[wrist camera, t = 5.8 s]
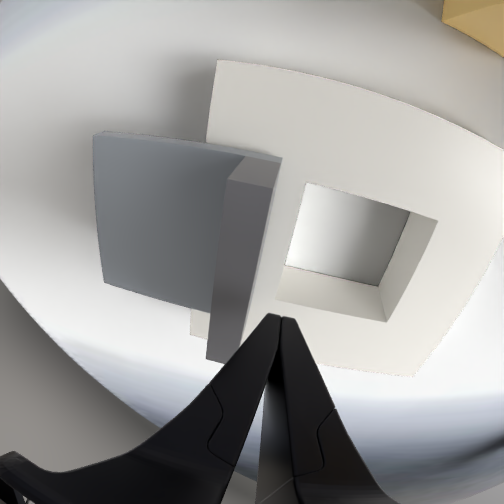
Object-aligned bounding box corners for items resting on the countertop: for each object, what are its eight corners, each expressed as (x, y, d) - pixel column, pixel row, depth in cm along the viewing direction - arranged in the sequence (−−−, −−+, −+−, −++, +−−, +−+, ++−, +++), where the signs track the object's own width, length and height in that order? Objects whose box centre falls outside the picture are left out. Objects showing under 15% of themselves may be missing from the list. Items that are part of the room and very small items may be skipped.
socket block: (499, 149, 11) (531, 167, 9) (404, 342, 18) (412, 377, 16) (235, 64, 12) (217, 59, 9) (204, 301, 19) (189, 334, 17)
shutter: (282, 157, 11) (273, 188, 8) (249, 310, 15) (234, 366, 12) (104, 131, 11) (49, 152, 8) (111, 273, 15) (77, 315, 12)
